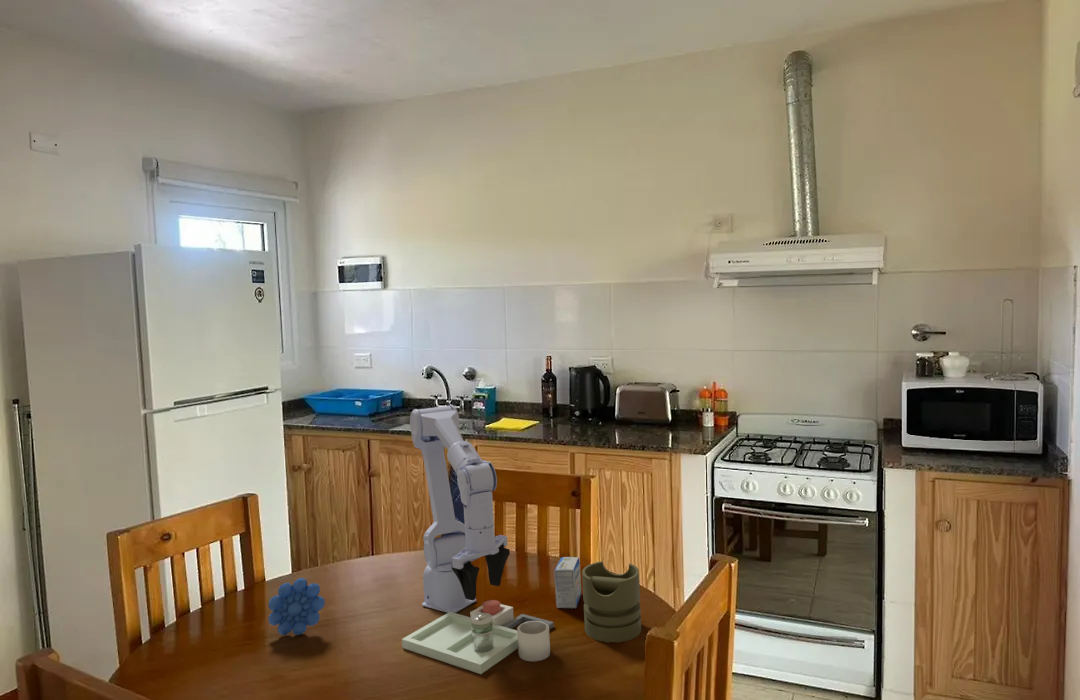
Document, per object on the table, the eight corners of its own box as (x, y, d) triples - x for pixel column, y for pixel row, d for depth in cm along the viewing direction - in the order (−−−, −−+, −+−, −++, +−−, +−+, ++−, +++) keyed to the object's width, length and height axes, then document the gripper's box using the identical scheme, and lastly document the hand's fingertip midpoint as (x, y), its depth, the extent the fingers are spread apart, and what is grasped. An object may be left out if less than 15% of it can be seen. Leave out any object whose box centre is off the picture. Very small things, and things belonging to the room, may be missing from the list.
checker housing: (471, 626, 152) (470, 612, 151) (489, 614, 157) (489, 601, 157) (495, 633, 148) (494, 618, 148) (513, 621, 153) (512, 607, 153)
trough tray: (402, 647, 144) (401, 639, 144) (450, 619, 155) (449, 611, 155) (481, 674, 132) (480, 664, 132) (526, 641, 144) (526, 633, 143)
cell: (468, 649, 140) (466, 617, 140) (481, 640, 144) (479, 609, 143) (485, 654, 138) (483, 621, 138) (498, 645, 142) (496, 613, 141)
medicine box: (576, 609, 157) (574, 570, 157) (555, 608, 158) (554, 569, 158) (581, 594, 165) (579, 556, 164) (562, 593, 166) (560, 556, 165)
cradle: (498, 633, 148) (498, 629, 148) (522, 618, 154) (521, 613, 154) (530, 643, 143) (530, 638, 143) (553, 626, 150) (553, 622, 149)
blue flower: (331, 623, 156) (327, 568, 156) (324, 638, 150) (320, 581, 149) (275, 627, 156) (271, 572, 155) (266, 642, 149) (261, 585, 148)
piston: (632, 584, 139) (575, 579, 143) (634, 645, 140) (577, 639, 144) (644, 563, 150) (590, 558, 154) (646, 619, 151) (593, 614, 155)
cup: (512, 656, 138) (510, 630, 138) (530, 643, 143) (529, 617, 143) (538, 664, 135) (536, 637, 134) (556, 650, 140) (555, 624, 139)
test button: (480, 623, 152) (479, 605, 152) (491, 617, 155) (490, 598, 155) (493, 627, 150) (492, 608, 150) (504, 620, 153) (503, 602, 152)
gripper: (470, 539, 135) (474, 610, 137) (518, 517, 147) (521, 582, 148) (442, 533, 140) (446, 602, 141) (490, 512, 151) (494, 576, 152)
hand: (483, 591), depth 145 cm, fingers open, 7 cm apart
